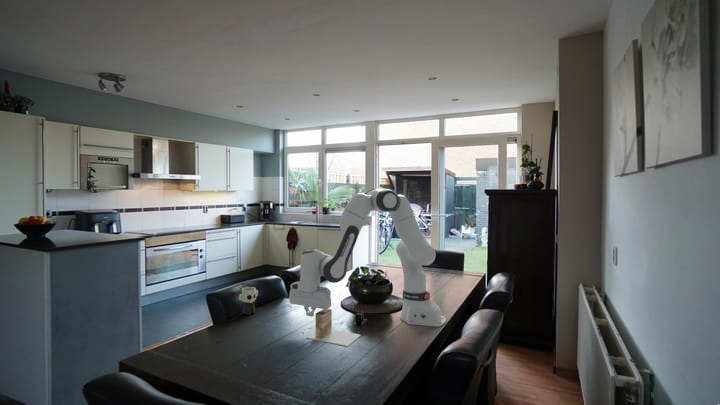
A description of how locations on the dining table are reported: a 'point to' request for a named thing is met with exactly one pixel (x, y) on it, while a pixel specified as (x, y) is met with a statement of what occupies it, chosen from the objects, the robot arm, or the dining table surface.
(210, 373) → the dining table surface
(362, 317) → the black box
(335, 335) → the felt mat
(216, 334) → the dining table surface
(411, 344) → the dining table surface
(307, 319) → the dining table surface
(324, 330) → the oak slab
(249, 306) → the character mug
